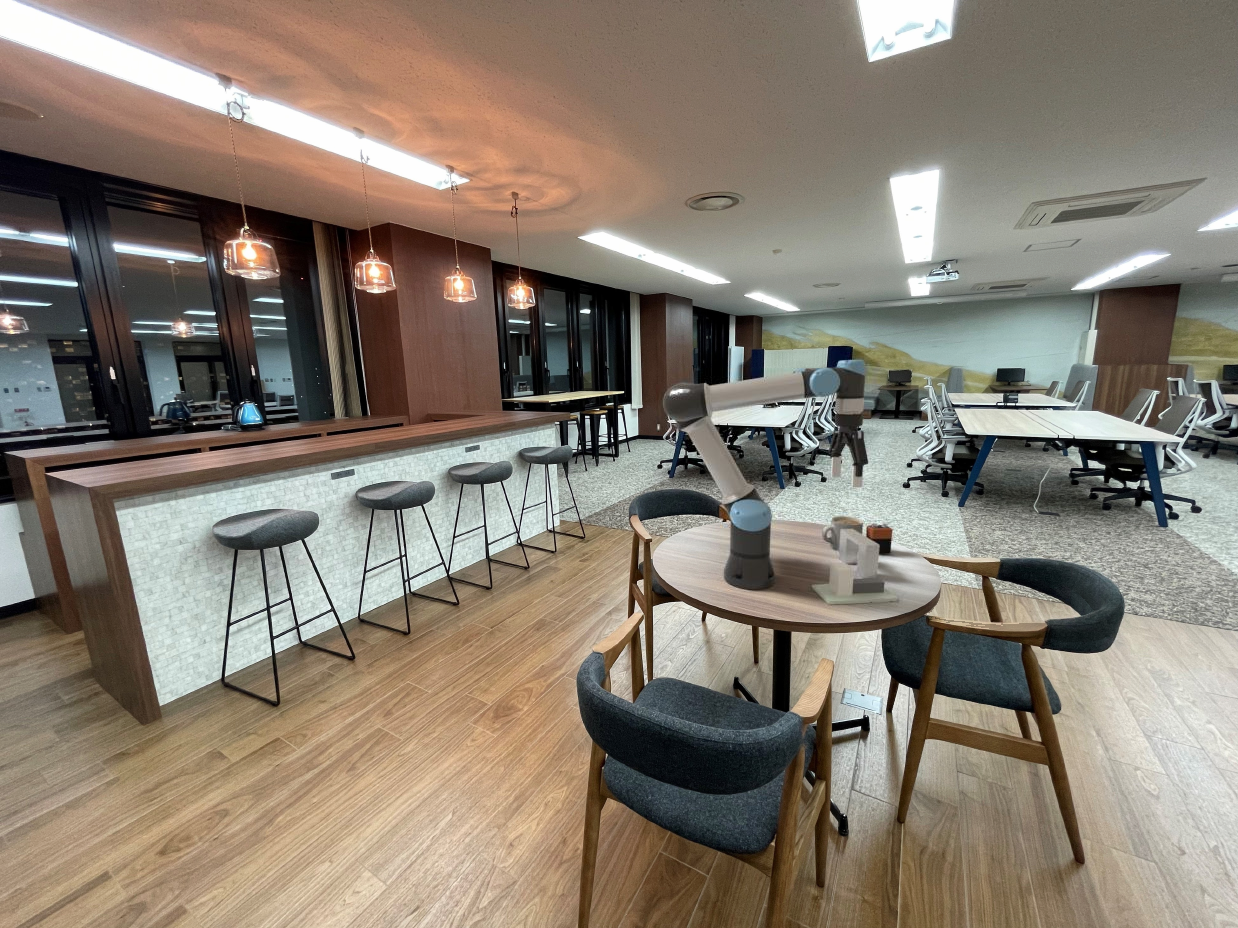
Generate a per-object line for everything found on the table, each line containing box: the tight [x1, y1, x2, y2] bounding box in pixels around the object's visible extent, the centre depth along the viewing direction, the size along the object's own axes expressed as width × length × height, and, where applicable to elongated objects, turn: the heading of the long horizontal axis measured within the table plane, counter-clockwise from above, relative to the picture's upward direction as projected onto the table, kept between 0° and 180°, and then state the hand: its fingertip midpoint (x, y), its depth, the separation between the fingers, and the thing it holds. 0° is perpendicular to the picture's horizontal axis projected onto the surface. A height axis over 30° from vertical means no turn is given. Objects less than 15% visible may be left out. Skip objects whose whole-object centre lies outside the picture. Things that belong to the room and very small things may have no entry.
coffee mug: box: [821, 515, 864, 552], centre depth 166 cm, size 13×10×10 cm
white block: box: [828, 562, 885, 596], centre depth 131 cm, size 14×5×8 cm, turn 92°
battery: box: [865, 523, 893, 555], centre depth 161 cm, size 4×7×10 cm, turn 89°
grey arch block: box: [838, 529, 880, 578], centre depth 148 cm, size 4×15×10 cm, turn 3°
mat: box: [811, 583, 899, 605], centre depth 132 cm, size 19×10×1 cm, turn 93°
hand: (845, 481), depth 144 cm, fingers open, 13 cm apart
